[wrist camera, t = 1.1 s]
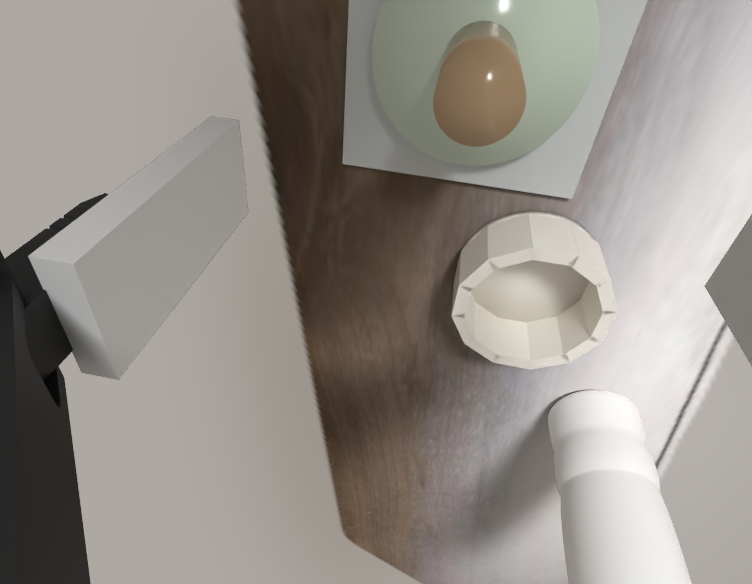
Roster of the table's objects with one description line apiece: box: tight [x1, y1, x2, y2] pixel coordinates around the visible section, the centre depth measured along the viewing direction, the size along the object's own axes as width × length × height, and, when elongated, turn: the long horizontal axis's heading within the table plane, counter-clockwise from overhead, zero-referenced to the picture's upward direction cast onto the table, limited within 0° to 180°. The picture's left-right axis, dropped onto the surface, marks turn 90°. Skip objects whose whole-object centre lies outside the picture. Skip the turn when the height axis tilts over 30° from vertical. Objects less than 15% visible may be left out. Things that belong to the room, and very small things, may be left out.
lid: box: [372, 0, 600, 166], centre depth 22 cm, size 11×11×8 cm
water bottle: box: [548, 390, 691, 584], centre depth 31 cm, size 7×7×25 cm
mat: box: [342, 0, 648, 199], centre depth 25 cm, size 14×14×1 cm
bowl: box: [451, 211, 618, 369], centre depth 31 cm, size 9×9×4 cm
